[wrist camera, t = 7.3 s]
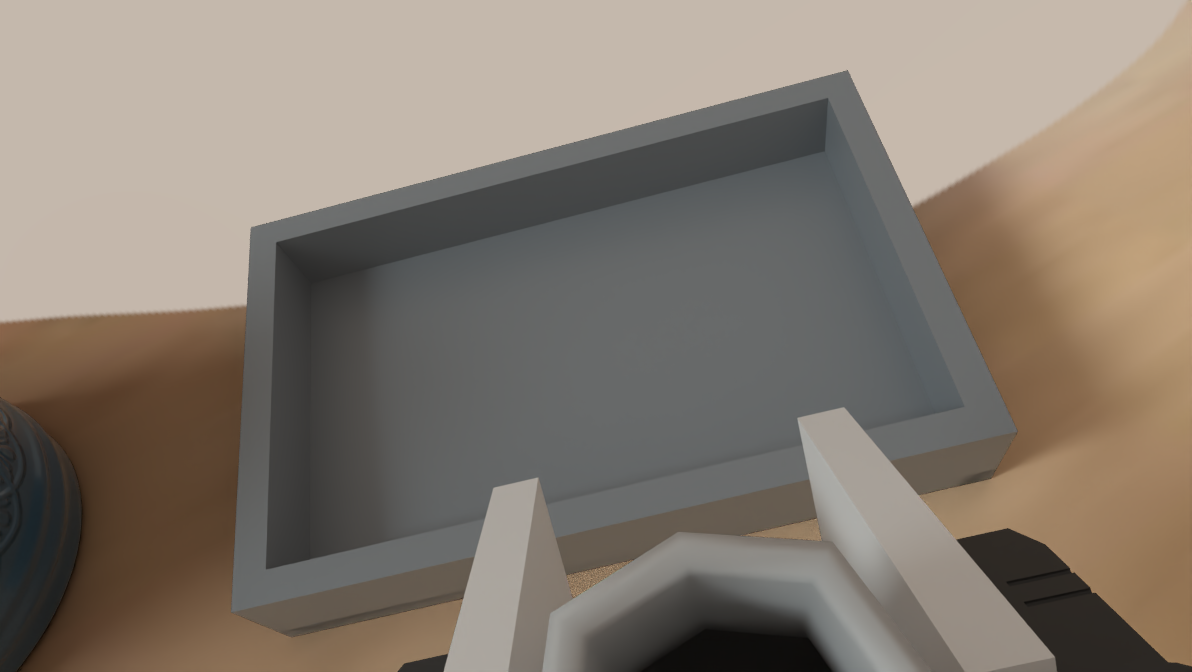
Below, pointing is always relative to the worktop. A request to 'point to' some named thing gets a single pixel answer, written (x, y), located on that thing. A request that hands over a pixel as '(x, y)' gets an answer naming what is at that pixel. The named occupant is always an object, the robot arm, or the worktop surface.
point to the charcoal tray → (591, 354)
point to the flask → (729, 613)
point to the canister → (33, 532)
